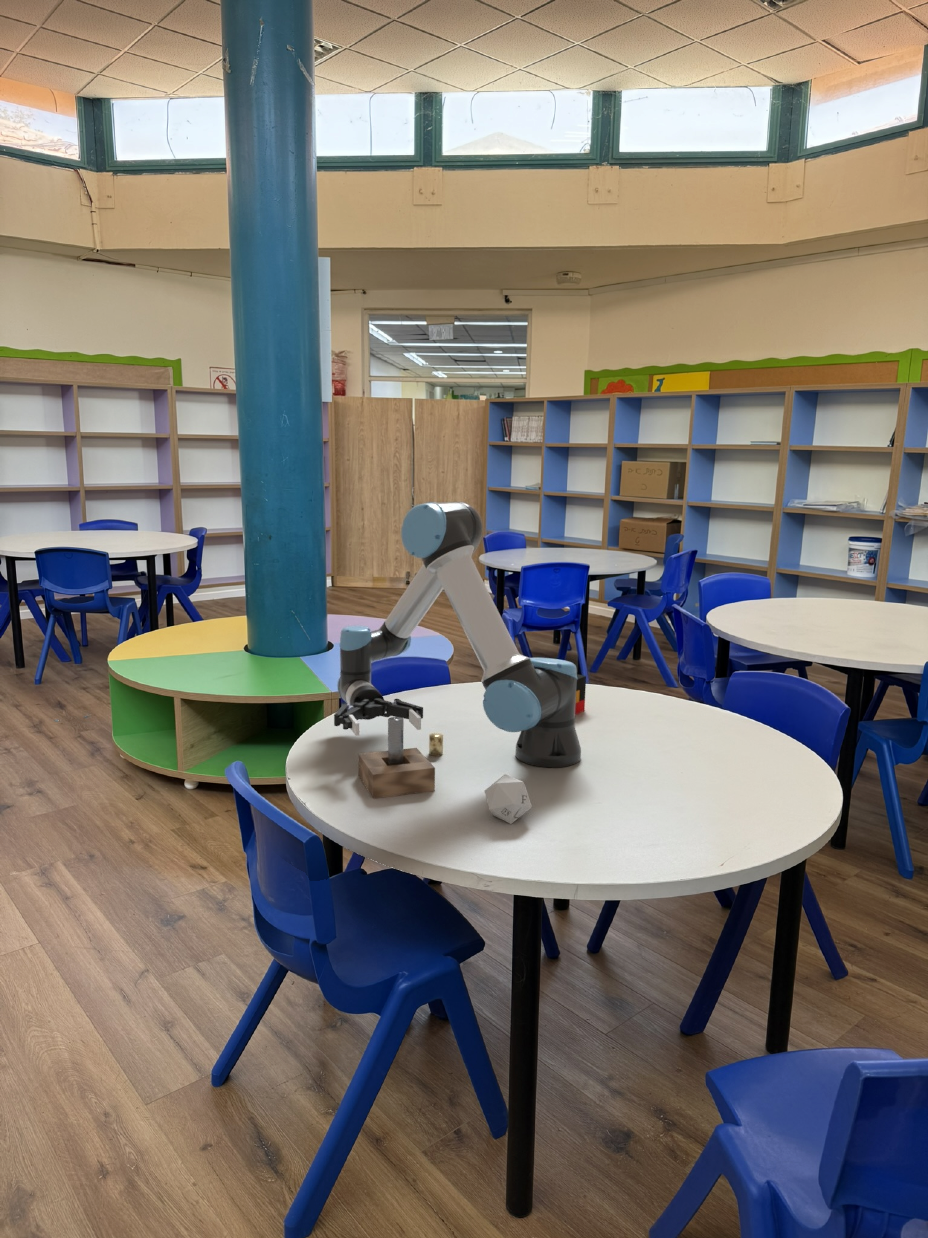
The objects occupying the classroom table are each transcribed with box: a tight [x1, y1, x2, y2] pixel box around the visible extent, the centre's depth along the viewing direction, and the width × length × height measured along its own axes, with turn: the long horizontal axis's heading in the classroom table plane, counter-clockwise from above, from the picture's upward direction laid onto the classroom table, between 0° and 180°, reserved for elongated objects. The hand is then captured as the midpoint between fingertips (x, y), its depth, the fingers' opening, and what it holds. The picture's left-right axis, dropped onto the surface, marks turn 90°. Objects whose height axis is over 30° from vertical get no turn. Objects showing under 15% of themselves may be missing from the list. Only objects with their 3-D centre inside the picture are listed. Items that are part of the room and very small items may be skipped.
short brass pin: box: [428, 732, 444, 757], centre depth 191 cm, size 3×3×4 cm
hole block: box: [357, 747, 436, 799], centre depth 172 cm, size 13×13×5 cm
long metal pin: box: [387, 716, 405, 766], centre depth 171 cm, size 3×3×14 cm
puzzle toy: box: [575, 674, 587, 716], centre depth 227 cm, size 10×10×10 cm
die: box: [484, 773, 533, 825], centre depth 156 cm, size 8×9×10 cm
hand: (388, 726), depth 174 cm, fingers open, 13 cm apart
